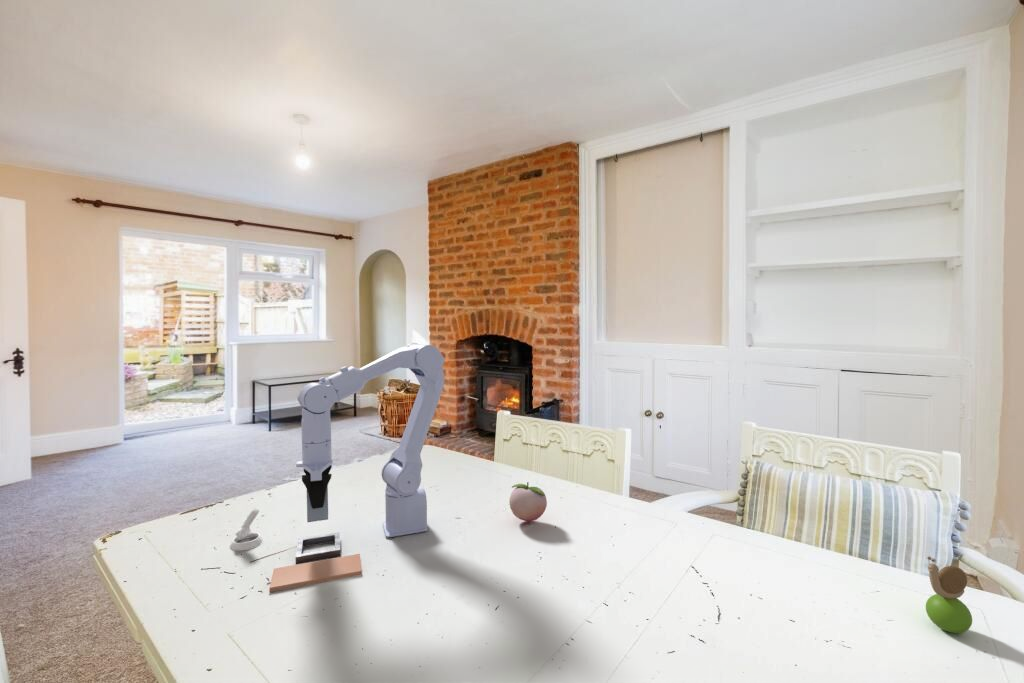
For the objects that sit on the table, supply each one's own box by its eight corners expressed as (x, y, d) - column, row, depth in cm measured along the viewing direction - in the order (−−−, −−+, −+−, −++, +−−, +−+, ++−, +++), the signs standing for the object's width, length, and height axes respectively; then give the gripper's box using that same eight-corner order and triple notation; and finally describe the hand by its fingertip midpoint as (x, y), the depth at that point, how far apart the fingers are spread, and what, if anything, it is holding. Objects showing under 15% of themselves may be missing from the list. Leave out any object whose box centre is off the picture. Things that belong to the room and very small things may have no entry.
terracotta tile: (359, 557, 97) (359, 553, 97) (361, 574, 90) (361, 570, 90) (273, 572, 91) (273, 568, 91) (269, 592, 84) (269, 587, 84)
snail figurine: (910, 619, 77) (913, 549, 76) (945, 617, 77) (949, 547, 77) (943, 642, 71) (947, 566, 71) (981, 640, 72) (985, 564, 71)
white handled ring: (270, 531, 99) (244, 519, 98) (247, 565, 101) (221, 553, 99) (281, 513, 105) (257, 501, 104) (259, 545, 107) (235, 533, 105)
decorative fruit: (503, 526, 111) (502, 485, 111) (515, 513, 119) (515, 474, 118) (540, 533, 108) (540, 491, 107) (550, 519, 115) (550, 479, 115)
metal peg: (328, 512, 102) (327, 476, 101) (328, 519, 98) (327, 482, 97) (308, 514, 100) (307, 478, 100) (307, 522, 96) (306, 484, 96)
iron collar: (339, 538, 105) (339, 532, 105) (340, 556, 97) (340, 549, 97) (298, 545, 102) (298, 538, 102) (295, 564, 94) (295, 557, 94)
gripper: (298, 434, 104) (299, 493, 104) (293, 451, 90) (294, 520, 91) (332, 431, 106) (333, 489, 107) (332, 447, 93) (333, 514, 93)
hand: (317, 503), depth 99 cm, fingers closed on metal peg, 4 cm apart
